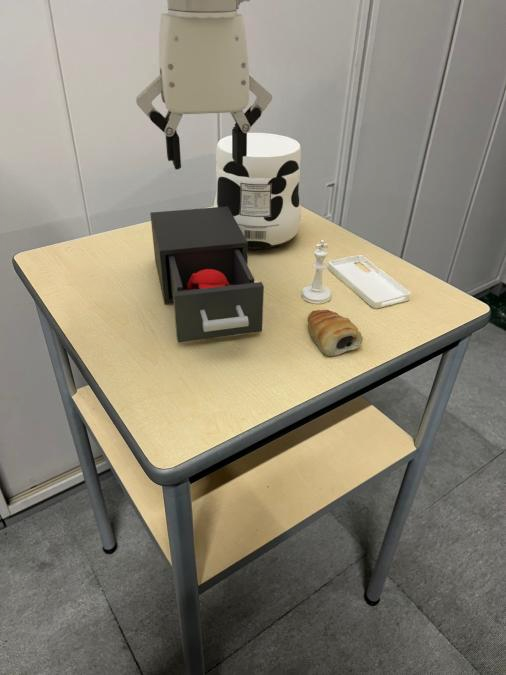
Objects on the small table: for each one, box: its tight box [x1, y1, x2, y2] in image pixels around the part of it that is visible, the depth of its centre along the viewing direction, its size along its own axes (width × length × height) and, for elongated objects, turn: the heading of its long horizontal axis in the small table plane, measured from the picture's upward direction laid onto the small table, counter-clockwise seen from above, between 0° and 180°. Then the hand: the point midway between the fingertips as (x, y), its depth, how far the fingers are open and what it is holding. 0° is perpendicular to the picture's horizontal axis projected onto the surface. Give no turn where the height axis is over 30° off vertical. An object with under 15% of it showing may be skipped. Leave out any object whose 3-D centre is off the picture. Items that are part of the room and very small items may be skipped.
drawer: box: [168, 248, 265, 344], centre depth 76 cm, size 18×12×8 cm
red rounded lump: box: [187, 269, 230, 290], centre depth 78 cm, size 8×6×6 cm
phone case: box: [327, 254, 412, 309], centre depth 89 cm, size 7×1×15 cm
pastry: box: [307, 309, 364, 357], centre depth 76 cm, size 9×7×4 cm
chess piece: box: [300, 239, 332, 305], centre depth 83 cm, size 5×5×10 cm
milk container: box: [212, 132, 302, 249], centre depth 98 cm, size 17×17×18 cm
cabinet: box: [150, 206, 249, 305], centre depth 87 cm, size 15×14×10 cm
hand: (207, 163), depth 66 cm, fingers open, 7 cm apart
